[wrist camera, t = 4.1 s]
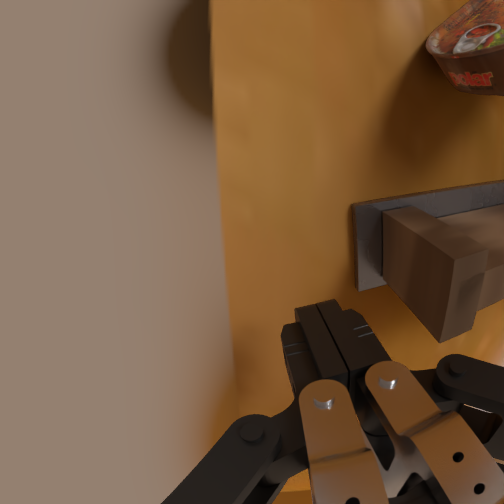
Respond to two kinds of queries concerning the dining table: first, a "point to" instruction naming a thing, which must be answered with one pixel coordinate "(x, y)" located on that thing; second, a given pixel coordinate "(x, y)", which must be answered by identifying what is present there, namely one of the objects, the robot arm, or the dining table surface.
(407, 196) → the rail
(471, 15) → the tin
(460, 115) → the dining table surface
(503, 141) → the dining table surface
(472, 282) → the brown wooden block
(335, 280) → the dining table surface
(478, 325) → the dining table surface
